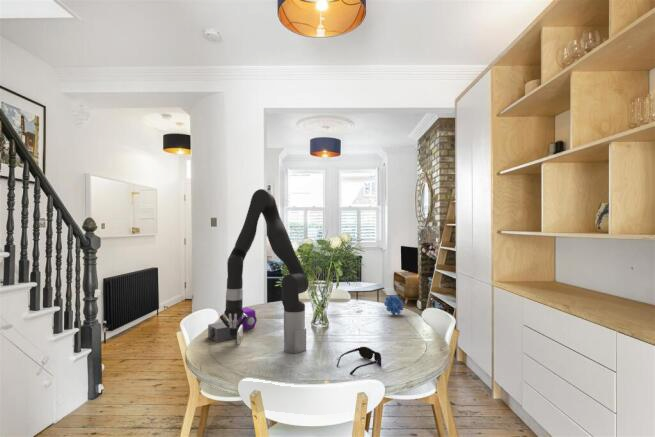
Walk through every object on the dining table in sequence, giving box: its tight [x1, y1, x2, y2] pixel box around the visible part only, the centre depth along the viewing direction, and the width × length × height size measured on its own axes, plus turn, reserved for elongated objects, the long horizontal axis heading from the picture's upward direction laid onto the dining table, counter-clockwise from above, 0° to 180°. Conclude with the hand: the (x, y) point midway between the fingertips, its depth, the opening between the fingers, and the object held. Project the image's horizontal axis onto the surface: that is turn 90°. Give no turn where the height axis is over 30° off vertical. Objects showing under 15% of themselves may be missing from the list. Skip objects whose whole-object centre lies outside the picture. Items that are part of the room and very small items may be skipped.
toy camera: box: [238, 306, 257, 330], centre depth 184 cm, size 11×14×10 cm
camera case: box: [207, 319, 239, 343], centre depth 169 cm, size 10×13×7 cm
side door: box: [236, 325, 244, 345], centre depth 164 cm, size 2×12×5 cm, turn 6°
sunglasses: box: [336, 346, 382, 375], centre depth 135 cm, size 14×16×5 cm
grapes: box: [383, 294, 404, 315], centre depth 209 cm, size 12×7×12 cm, turn 89°
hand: (233, 335), depth 160 cm, fingers closed
